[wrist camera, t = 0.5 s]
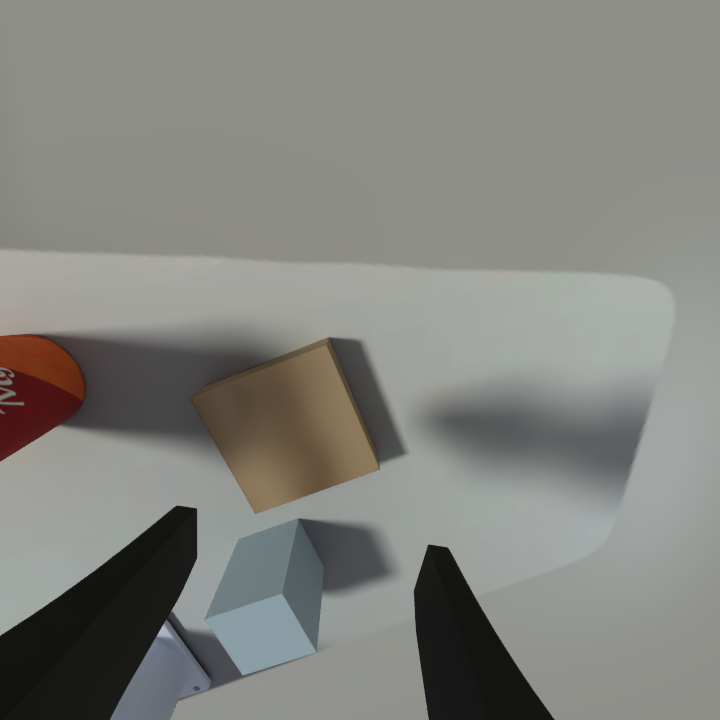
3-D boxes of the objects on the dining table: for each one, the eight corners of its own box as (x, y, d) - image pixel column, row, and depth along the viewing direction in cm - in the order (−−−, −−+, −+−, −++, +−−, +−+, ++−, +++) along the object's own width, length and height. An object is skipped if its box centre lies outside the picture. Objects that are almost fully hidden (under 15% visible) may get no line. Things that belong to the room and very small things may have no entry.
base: (263, 492, 22) (255, 513, 20) (205, 385, 20) (189, 398, 18) (377, 451, 21) (379, 469, 20) (328, 337, 19) (326, 344, 17)
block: (266, 586, 24) (242, 675, 19) (238, 539, 23) (204, 619, 18) (324, 567, 24) (316, 652, 19) (298, 517, 23) (282, 593, 17)
